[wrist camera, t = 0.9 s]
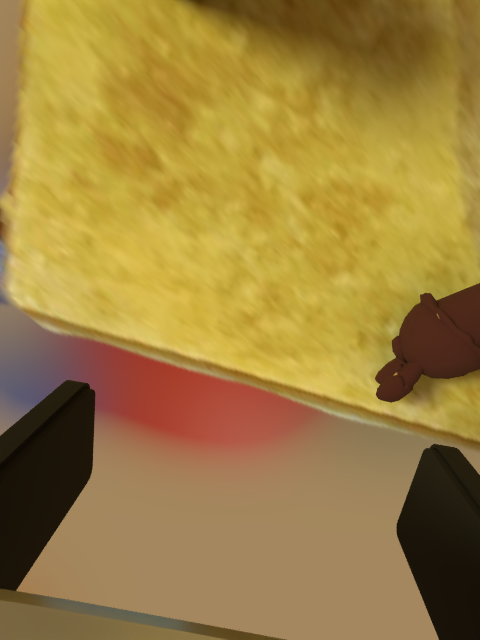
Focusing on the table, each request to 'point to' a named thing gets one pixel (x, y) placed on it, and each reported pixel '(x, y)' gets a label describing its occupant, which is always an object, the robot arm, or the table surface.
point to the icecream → (434, 343)
